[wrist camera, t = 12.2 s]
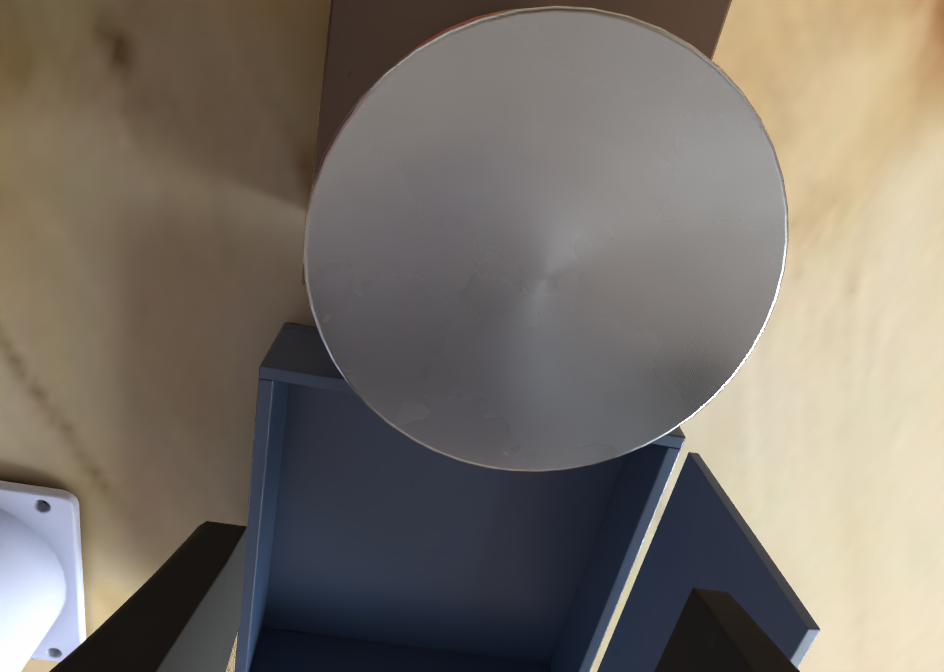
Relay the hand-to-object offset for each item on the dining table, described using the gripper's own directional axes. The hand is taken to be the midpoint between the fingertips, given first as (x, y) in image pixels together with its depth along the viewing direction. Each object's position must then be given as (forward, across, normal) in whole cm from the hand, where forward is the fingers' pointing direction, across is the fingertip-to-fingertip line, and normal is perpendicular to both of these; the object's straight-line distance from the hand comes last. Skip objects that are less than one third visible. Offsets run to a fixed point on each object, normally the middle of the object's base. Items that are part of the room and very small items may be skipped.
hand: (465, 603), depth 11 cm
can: (+7, 0, -6) cm, 9 cm away
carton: (+10, -1, +7) cm, 13 cm away
